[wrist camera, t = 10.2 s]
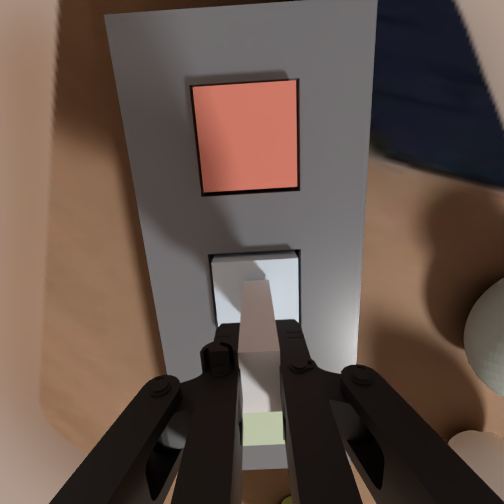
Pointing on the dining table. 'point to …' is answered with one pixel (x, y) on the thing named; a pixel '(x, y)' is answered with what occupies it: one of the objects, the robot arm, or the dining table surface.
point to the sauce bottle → (482, 456)
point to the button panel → (255, 200)
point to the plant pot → (287, 500)
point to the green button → (262, 428)
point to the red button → (247, 135)
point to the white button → (256, 268)
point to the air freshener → (487, 338)
